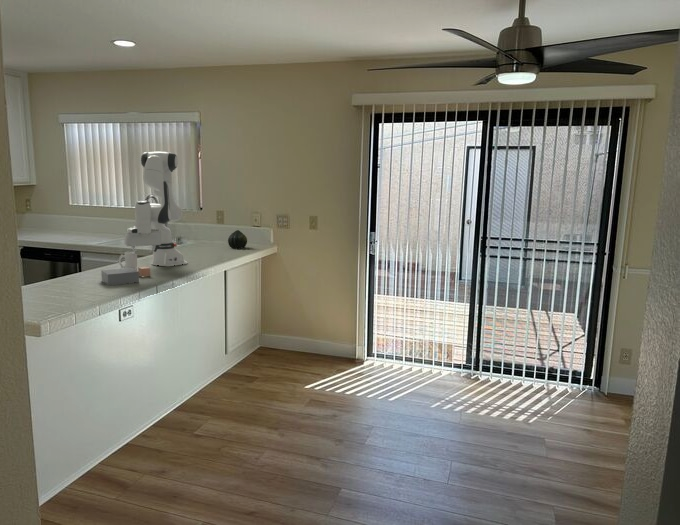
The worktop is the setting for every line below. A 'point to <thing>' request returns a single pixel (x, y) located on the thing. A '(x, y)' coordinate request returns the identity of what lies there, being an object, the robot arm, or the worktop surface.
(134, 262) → the mug
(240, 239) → the squash
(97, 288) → the worktop surface
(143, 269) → the cube
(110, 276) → the stand
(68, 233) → the worktop surface
